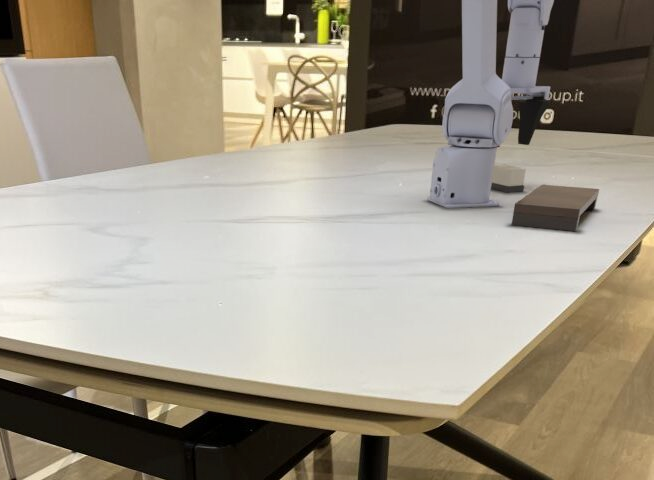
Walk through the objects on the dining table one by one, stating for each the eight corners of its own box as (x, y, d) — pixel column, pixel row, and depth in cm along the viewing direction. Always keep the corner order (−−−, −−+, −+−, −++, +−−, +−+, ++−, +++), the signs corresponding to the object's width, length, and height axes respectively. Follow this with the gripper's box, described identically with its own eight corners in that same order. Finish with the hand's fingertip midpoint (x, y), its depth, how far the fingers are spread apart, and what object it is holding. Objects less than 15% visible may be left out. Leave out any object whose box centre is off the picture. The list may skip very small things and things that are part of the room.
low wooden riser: (575, 231, 105) (579, 209, 103) (511, 225, 109) (514, 203, 107) (595, 208, 120) (599, 188, 119) (538, 203, 124) (541, 184, 122)
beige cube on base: (523, 191, 134) (527, 168, 132) (507, 192, 133) (511, 169, 131) (495, 184, 141) (498, 163, 139) (479, 186, 139) (482, 164, 137)
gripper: (510, 57, 120) (496, 150, 127) (569, 57, 126) (554, 145, 134) (478, 57, 125) (467, 146, 132) (537, 57, 132) (523, 141, 139)
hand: (508, 145), depth 133 cm, fingers open, 7 cm apart
